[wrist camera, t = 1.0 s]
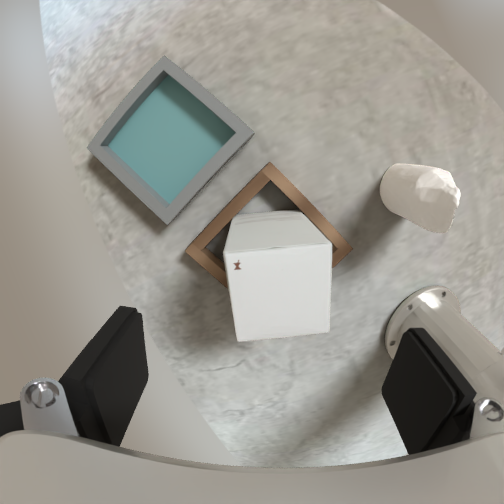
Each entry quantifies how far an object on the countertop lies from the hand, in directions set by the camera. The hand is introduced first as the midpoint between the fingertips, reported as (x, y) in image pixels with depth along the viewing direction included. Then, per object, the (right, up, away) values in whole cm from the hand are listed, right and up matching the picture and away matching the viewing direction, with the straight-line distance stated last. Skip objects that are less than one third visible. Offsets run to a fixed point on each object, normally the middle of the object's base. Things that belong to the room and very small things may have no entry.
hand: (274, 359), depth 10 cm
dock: (-9, +15, +19) cm, 26 cm away
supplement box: (+1, +5, +23) cm, 23 cm away
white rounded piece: (+16, +11, +21) cm, 28 cm away
